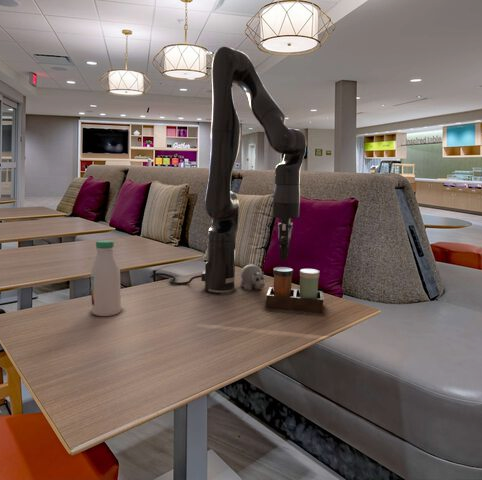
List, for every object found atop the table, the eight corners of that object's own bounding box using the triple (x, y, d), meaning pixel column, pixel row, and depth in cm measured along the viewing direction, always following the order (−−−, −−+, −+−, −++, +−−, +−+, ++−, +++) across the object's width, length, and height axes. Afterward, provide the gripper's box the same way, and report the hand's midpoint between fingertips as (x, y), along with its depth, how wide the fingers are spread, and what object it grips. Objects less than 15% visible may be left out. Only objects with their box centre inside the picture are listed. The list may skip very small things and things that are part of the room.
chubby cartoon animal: (251, 297, 132) (252, 271, 131) (237, 287, 143) (238, 262, 142) (271, 295, 135) (272, 269, 133) (256, 285, 146) (257, 261, 144)
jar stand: (265, 310, 120) (266, 295, 120) (268, 301, 129) (269, 287, 128) (322, 315, 118) (323, 299, 117) (321, 306, 126) (322, 291, 125)
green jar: (297, 309, 120) (299, 272, 118) (298, 303, 125) (300, 268, 124) (317, 311, 119) (319, 273, 117) (317, 305, 124) (319, 269, 123)
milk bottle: (126, 309, 118) (125, 240, 115) (109, 318, 111) (108, 244, 108) (103, 306, 121) (101, 237, 117) (85, 314, 114) (83, 242, 110)
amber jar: (271, 307, 121) (272, 270, 120) (273, 301, 127) (274, 266, 125) (290, 309, 120) (292, 272, 119) (291, 303, 126) (293, 267, 124)
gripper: (275, 198, 126) (273, 251, 129) (270, 202, 112) (269, 260, 115) (300, 199, 125) (298, 252, 127) (299, 202, 111) (296, 262, 114)
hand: (284, 256), depth 121 cm, fingers open, 8 cm apart
